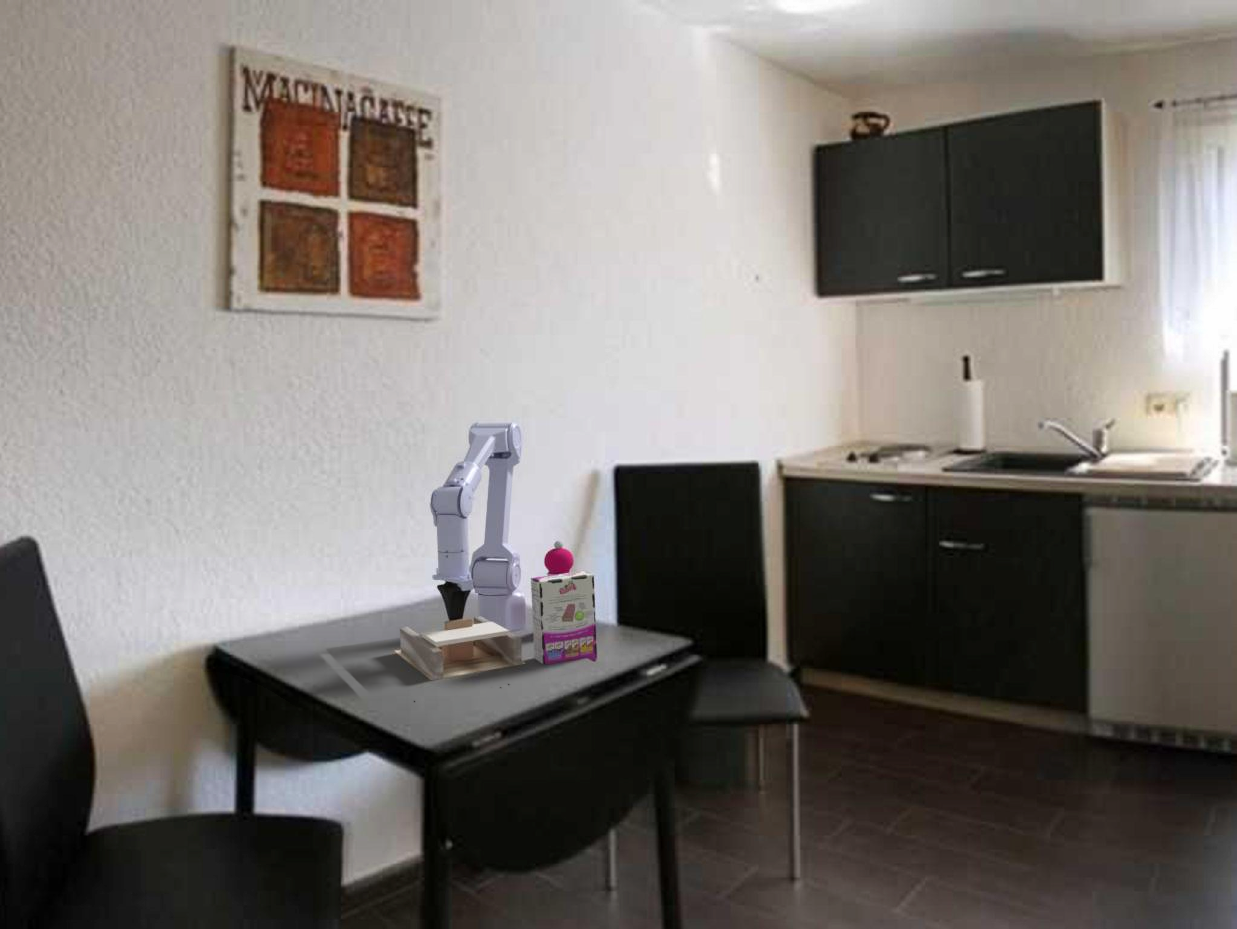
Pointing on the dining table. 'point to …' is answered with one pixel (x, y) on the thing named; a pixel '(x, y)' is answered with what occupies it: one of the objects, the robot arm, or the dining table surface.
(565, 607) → the candy bar box
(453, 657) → the terracotta block
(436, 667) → the beige wooden low frame
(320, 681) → the dining table surface
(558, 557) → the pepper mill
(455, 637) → the sliding lid
